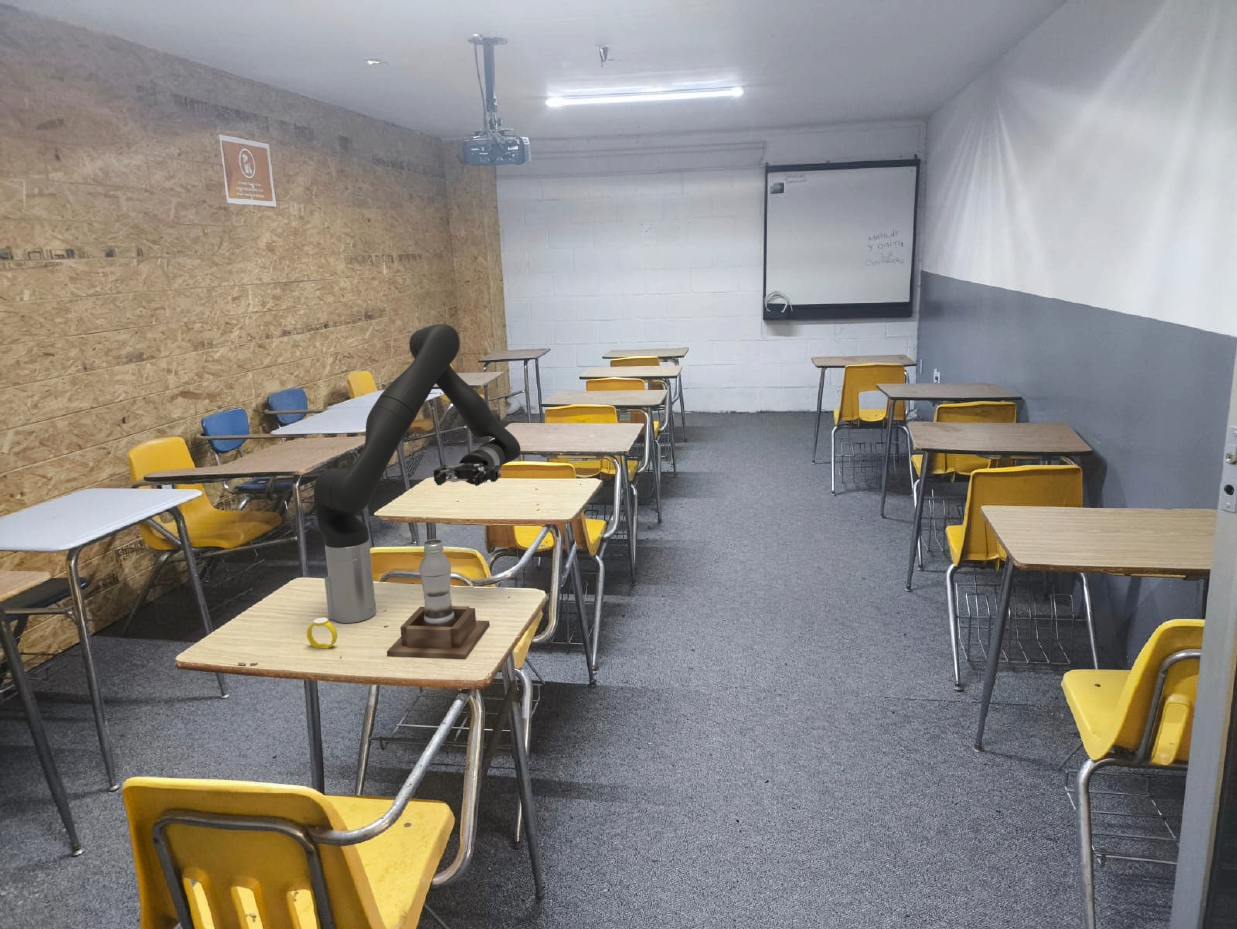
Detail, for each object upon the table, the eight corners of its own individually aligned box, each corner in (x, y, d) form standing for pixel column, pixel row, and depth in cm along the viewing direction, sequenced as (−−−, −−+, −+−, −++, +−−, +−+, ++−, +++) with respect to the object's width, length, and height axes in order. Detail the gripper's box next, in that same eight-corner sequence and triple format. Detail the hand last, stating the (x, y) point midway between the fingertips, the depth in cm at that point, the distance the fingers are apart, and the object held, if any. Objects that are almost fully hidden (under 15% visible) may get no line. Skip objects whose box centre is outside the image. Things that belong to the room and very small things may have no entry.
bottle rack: (387, 656, 156) (384, 632, 154) (418, 623, 171) (416, 601, 170) (465, 659, 153) (463, 635, 152) (489, 625, 169) (488, 603, 168)
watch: (339, 646, 161) (338, 619, 160) (332, 652, 159) (331, 624, 157) (312, 642, 162) (311, 615, 161) (305, 648, 160) (304, 621, 158)
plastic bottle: (460, 628, 165) (453, 536, 161) (451, 642, 159) (443, 547, 154) (430, 627, 166) (423, 536, 162) (419, 641, 159) (411, 547, 155)
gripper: (449, 449, 186) (424, 463, 171) (508, 449, 184) (487, 464, 169) (452, 480, 188) (426, 497, 172) (510, 480, 186) (489, 498, 170)
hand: (457, 481), depth 170 cm, fingers open, 8 cm apart
